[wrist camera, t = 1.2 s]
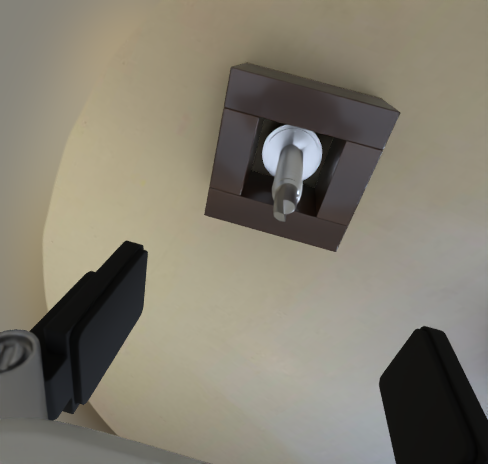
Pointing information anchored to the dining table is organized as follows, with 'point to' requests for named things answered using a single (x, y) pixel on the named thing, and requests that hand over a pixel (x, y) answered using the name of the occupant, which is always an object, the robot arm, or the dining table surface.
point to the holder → (306, 117)
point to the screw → (290, 164)
